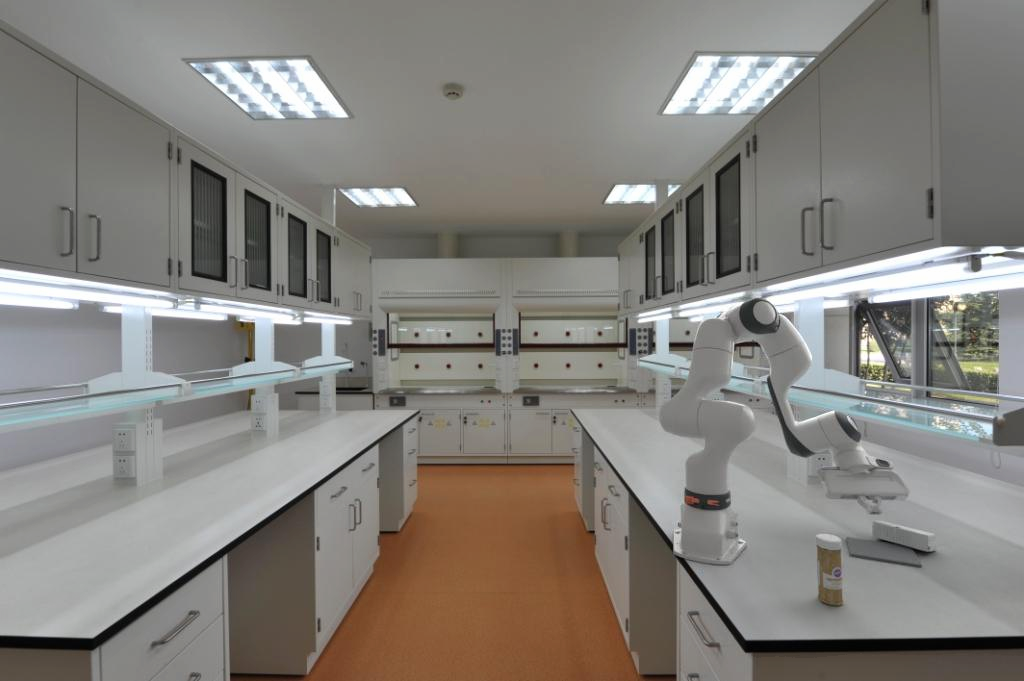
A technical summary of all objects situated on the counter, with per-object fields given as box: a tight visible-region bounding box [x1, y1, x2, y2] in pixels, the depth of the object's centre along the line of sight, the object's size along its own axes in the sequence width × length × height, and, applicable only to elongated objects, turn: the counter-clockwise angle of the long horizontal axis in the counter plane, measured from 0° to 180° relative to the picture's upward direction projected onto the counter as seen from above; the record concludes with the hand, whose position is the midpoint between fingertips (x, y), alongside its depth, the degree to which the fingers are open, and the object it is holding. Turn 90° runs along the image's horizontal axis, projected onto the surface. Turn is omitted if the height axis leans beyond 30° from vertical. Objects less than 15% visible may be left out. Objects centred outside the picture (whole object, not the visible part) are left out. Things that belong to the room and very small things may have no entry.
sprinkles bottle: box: [815, 533, 844, 607], centre depth 102 cm, size 5×5×14 cm
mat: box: [845, 536, 923, 568], centre depth 124 cm, size 12×14×1 cm
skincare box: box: [871, 520, 937, 553], centre depth 128 cm, size 6×4×12 cm
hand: (875, 513), depth 129 cm, fingers closed
